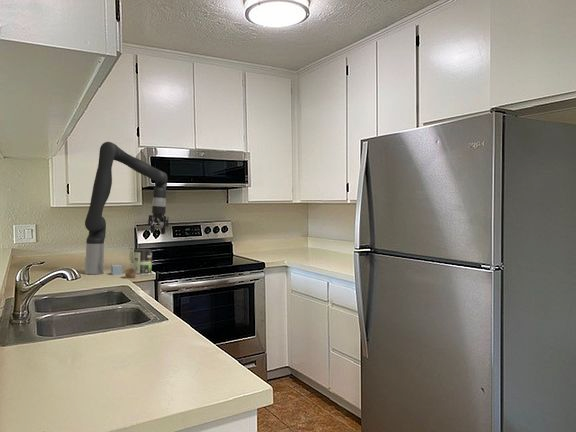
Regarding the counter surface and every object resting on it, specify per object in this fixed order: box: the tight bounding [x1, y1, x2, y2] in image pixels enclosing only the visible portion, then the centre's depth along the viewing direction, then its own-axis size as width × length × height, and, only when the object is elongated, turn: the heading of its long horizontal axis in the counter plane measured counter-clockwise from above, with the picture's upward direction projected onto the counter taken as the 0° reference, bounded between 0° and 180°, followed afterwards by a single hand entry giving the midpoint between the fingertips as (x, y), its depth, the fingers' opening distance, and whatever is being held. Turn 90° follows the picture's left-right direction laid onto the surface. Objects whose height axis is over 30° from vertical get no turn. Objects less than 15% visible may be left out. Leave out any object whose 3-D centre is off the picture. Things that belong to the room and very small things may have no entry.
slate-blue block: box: [110, 264, 123, 276], centre depth 245 cm, size 5×5×5 cm
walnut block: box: [124, 267, 136, 279], centre depth 235 cm, size 5×5×5 cm
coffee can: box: [132, 248, 153, 276], centre depth 249 cm, size 10×10×14 cm
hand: (157, 233), depth 249 cm, fingers open, 8 cm apart
